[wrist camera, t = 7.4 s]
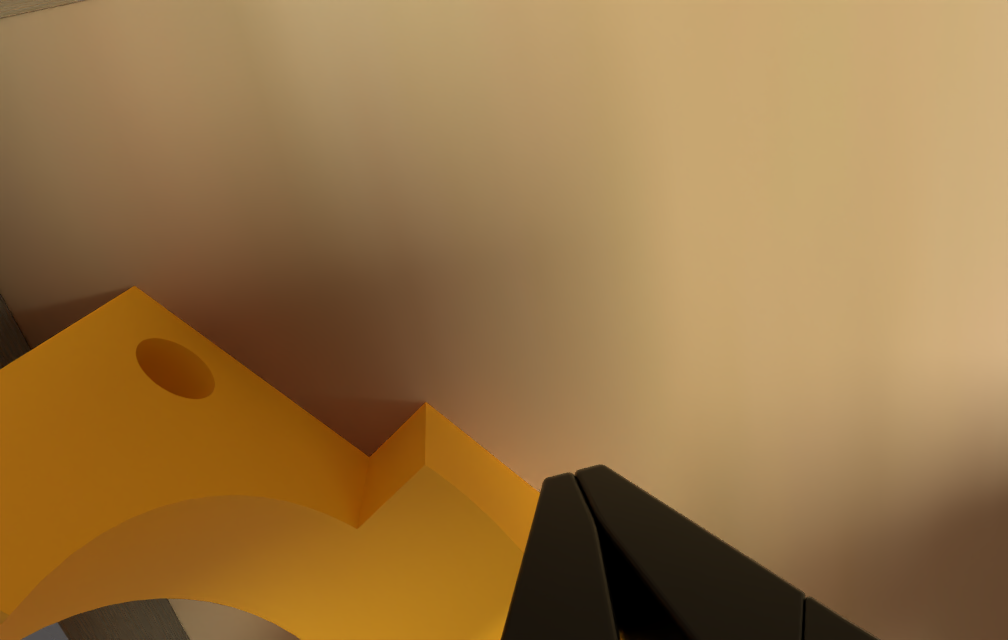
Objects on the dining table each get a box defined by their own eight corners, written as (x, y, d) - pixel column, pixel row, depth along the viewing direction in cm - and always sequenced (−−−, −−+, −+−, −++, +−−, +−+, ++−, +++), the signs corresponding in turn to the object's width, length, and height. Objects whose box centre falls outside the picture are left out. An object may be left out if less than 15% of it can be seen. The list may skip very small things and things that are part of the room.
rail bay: (487, -164, 9) (508, -255, 7) (634, 662, 16) (671, 760, 13) (-245, -13, 9) (-491, -56, 6) (218, 774, 15) (180, 895, 13)
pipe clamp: (621, 556, 15) (758, 877, 9) (496, 662, 15) (541, 1028, 9) (197, 215, 11) (-101, 360, 5) (56, 377, 11) (-360, 687, 5)
